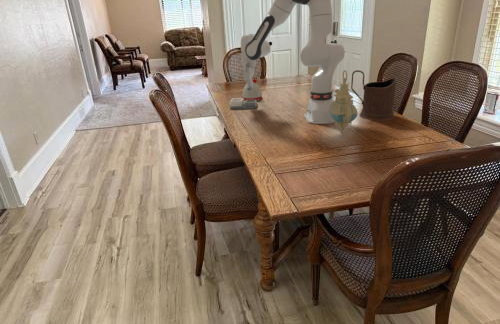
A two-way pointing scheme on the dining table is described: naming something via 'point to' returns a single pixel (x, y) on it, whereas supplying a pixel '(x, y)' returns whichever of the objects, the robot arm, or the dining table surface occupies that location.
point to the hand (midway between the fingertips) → (249, 84)
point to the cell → (250, 85)
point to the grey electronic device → (243, 104)
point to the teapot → (343, 106)
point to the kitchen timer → (252, 92)
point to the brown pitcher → (377, 99)
